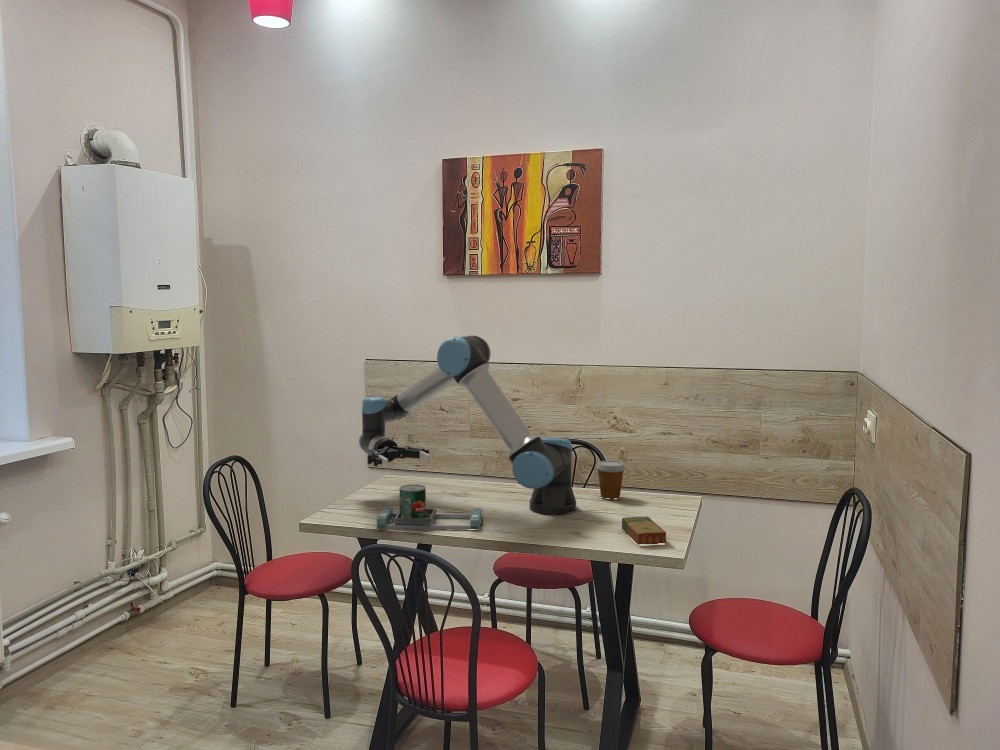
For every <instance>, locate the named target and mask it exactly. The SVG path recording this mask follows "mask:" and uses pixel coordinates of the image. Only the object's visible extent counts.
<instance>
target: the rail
mask: <svg viewBox="0 0 1000 750" xmlns="http://www.w3.org/2000/svg"><path fill="white" fill-rule="evenodd" d="M397 514H398V512H393V514H392V518H395V517H396V516H397ZM471 515H472V513H436V514H435V516H434V519H468V518H471ZM430 516H431V514H426V518H430ZM382 526H383V525H381V526H378V527H377V526H376V529H377V528H378V529H377V530H418V529H470V528H471V526H470V524H469V525H468V524H467V525H465V524H464V525H463V524H462V525H461V524H460V525H459V524H455V525H454V524H431V525H402V524H394V523H393V524H391V523H389V524H386V525H385V526H386V527H385V528H386V529H385V528H384V527H382ZM472 528H473V529H474V528H475V527H473V526H472ZM477 529H479V530H480V527H477Z"/></svg>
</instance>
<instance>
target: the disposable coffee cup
mask: <svg viewBox="0 0 1000 750" xmlns="http://www.w3.org/2000/svg"><path fill="white" fill-rule="evenodd" d="M596 469H597V473H598V482H599V484H598V485H599V490H600V491H599V492H600V493H599V494H600V498H601V497H603V498H610V499H614V498H619V497H620V496H621V489H622V484H623V475H624V470H625V469H626V467H625V464H624V462H621V461H619V460H617V461H616V460H601V461H598V463H597V465H596ZM619 499H620V498H619Z"/></svg>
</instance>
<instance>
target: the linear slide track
mask: <svg viewBox="0 0 1000 750" xmlns="http://www.w3.org/2000/svg"><path fill="white" fill-rule="evenodd" d="M471 511H472V512H471V514H472V515H471V519H470V520H469V522H470V523H469V525H470V526H471V528H470V529H473V528H472V526H473V527H475V528H474V529H477V527H479V526H480V527H481V522H480V521H482V508H480V507H479V508H478V507H477V508H476V507H474V508H473V509H472V510H471ZM393 513H394V507H393V506H392V507H391V506H385V507H384V508H383V509H382V511H381V512H380V514H379V516H377V518H376V529H377V530H379V529H378V528H377V527H378V526H381V525H383V526H382V527H384V528H385V527H386V526H385V525H386V524H390V522H391V521H390V520H392V519H393V517H392V514H393ZM480 527H479V528H480ZM384 530H387V529H386V528H385V529H384Z"/></svg>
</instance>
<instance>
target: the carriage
mask: <svg viewBox="0 0 1000 750" xmlns="http://www.w3.org/2000/svg"><path fill="white" fill-rule="evenodd" d="M397 513H398V514H397V516H396V517H394V522H393V524H402V525H433V524H432V523H433V521H434V519H435V518H434V516H435V514H437V508H426V514H431V516H430V518H400V509H399V510H398V512H397Z"/></svg>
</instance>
